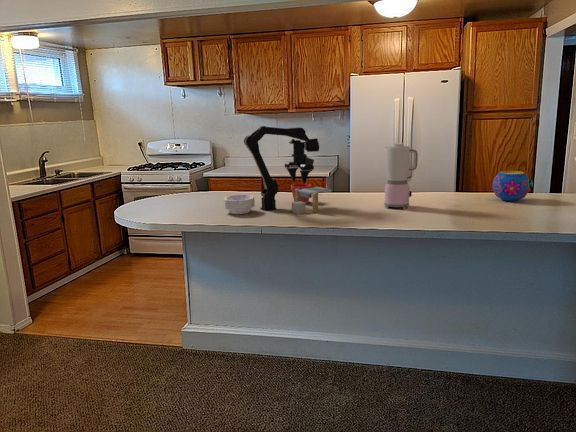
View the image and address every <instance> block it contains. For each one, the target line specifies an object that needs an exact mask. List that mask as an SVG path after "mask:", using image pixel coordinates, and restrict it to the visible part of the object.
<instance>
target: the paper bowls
mask: <svg viewBox="0 0 576 432" xmlns="http://www.w3.org/2000/svg"><path fill="white" fill-rule="evenodd" d="M223 203H224V205H223V206H224V209H226V210H228V212H229V213H230V214H232V215H244V214H248V213H250V212H251V211H252V208H254V207H256V203H255V196H253V194H252V195H251V194H233V195H228V196H225V197H224V198H223Z"/></svg>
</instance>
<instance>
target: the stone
mask: <svg viewBox="0 0 576 432" xmlns="http://www.w3.org/2000/svg"><path fill="white" fill-rule="evenodd" d="M306 204H307V203H305V202H301V201H298V202H294V201H293V202H291V213H294V214H296V215H297V214H298V215H299V214H305V213H306V212H307V211H306V208H307V207H306Z"/></svg>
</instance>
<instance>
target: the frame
mask: <svg viewBox="0 0 576 432" xmlns="http://www.w3.org/2000/svg"><path fill="white" fill-rule="evenodd" d="M298 190H300V189H299V188H298V189H295V202H298V201H301V196H299V192H298ZM311 200H312V208H308V207H306V212H309V213H312V214H318V213H319V194H318V193H317V192H314V193H312V198H311Z"/></svg>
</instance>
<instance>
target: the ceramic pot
mask: <svg viewBox="0 0 576 432" xmlns="http://www.w3.org/2000/svg"><path fill="white" fill-rule="evenodd" d="M533 186H534V181H533V180H532V179H531V178H530V177H529V176H528V174H526V172H524V171H520V170H503V171H502V170H501V171H499V172H498V173H497V174H496V176H495V177H494V178H493V182H492V190H493V193H494V195H495V196H496V197H497V198H498V199H500V200H502V201H506V202H517V201H519V200H522V199H524V198H525V197H526V196H527V195H528V193H529V192H530V190H531V189H532V188H533Z"/></svg>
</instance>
